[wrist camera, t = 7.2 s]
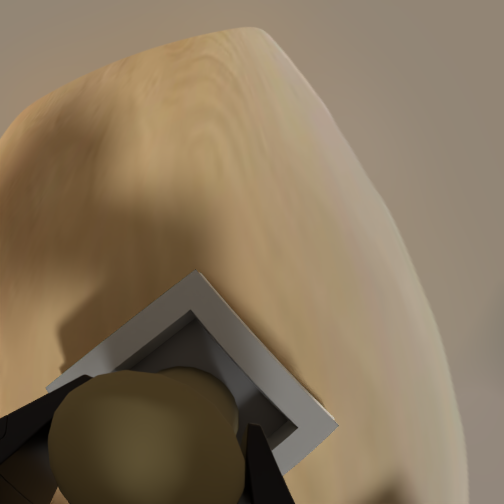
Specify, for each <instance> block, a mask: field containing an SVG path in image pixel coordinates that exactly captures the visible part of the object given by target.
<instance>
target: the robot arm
mask: <svg viewBox="0 0 504 504" xmlns="http://www.w3.org/2000/svg"><path fill="white" fill-rule="evenodd" d="M92 378H93V377H91V376H89V375H86V374H84V375H81V376H79V377H78V378H76V379H74V380H72V381H70V382H68V383H67V384H65V385H63V386H61V387H59V388H57V389H55V390H54V391H52V392H50V393H48V394H46V395H44V396H42V397H40V398H39V399H37V400H35V401H33V402H31V403H29V404H27V405H25V406H23V407H21V408H19V409H18V410H16V411H14V412H12V413H10V414H8V415H6V416H4V417H2V418H0V504H50V502H51V500H52V498H53V496H54V494H55V491H56V489H57V487H58V485H57V483H56V480H55V478H54V475H53V473H52V470H51V468H50V461H49V452H48V435H49V431H50V427H51V423H52V419H53V416H54V412H55V411H56V409H57V408H58V407H59V405H60V404H61V403H62V401H63V400H64V399H65V397H66V396H67V395H68V393H69V392H71V391H72V390H74V389H75V388H77V387H79V386H80V385H82V384H84V383H85V382H87V381H89V380H90V379H92ZM240 449H241V451H242V454H243V457H244V460H245V488H244V490H243V492H242V495H241V497H240V500H239V502H238V504H295V502H294V500H293V498H292V496H291V494H290V492H289V489H288V487H287V485H286V483H285V480H284V478H283V476H282V474H281V471H280V469H279V467H278V465H277V462H276V460H275V458H274V455H273V453H272V450H271V448H270V446H269V443H268V441H267V439H266V436H265V434H264V431H263V429H262V427H261V425H260V424H255V423H248V424H247V426H246V429H245V431H244V434H243V437H242V441H241V447H240Z"/></svg>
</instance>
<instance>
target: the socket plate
mask: <svg viewBox="0 0 504 504" xmlns="http://www.w3.org/2000/svg"><path fill="white" fill-rule="evenodd" d="M175 366H185V367H195V368H198V369H201V370H203V371H206V372H209V373H211V374H212V375H214V376H215V377H216V378H218V379H219V380H220V381H222V382H223V383H224V384H225V385H226V387H227V388H228V389H229V391H230V392H231V393H232V395H233V396H234V398H235V401H236V404H237V407H238V410H239V429H238V432H237V435H236V438H237V441H238V443H239V446H240V447H241V441H242V437H243V434H244V431H245V429H246V426H247V424H248V423H255V424H260V425H261V427H262V429H263V431H264V434H265V436H266V439H267V441H268V443H269V446H270V448H271V450H272V453H273V455H274V458H275V460H276V462H277V465H278V467H279V469H280V471H281V474H282V476H283V475H284V474H286V473H287V472H288V471H289V470H291V469H292V468H293V467H294V466H295V465H297V464H298V463H299V462H300V461H301V460H302V459H304V458H305V457H306V456H307V455H308V454H309V453H310V452H312V451H313V450H314V449H315V448H316V447H317V446H318V445H319V444H320V443H321V442H322V441H323V440H325V439H326V438H327V437H328V436H329V435H330V434H331V433H332V432H333V431H334V430H335V429H336V428H337V427H338V426H339V425H338V424H337V423H336V422H335V421H334V419H335V418H334V417H333V416H332V415H331V414H330V413H329V412H328V411H327V410H326V409H325V408H324V407H323V406H322V405H321V404H320V403H319V402H318V401H317V400H316V399H315V398H314V397H313V396H312V395H311V394H310V393H309V392H308V391H307V390H306V389H305V388H304V387H303V386H302V385H301V384H300V383H299V382H298V381H297V380H296V378H295V377H294V376H293V375H292V374H291V373H290V372H289V371H288V370H287V369H286V368H285V367H284V366H283V365H282V364H281V363H280V362H279V360H278V359H277V358H276V357H275V356H274V355H273V354H272V353H271V352H270V351H269V350H268V349H267V347H266V346H265V345H264V344H263V343H262V342H261V341H260V340H259V339H258V338H257V336H256V335H255V334H254V333H253V332H252V331H251V330H250V329H249V328H248V326H247V325H246V324H245V323H244V322H243V321H242V320H241V319H240V317H239V316H238V315H237V314H236V313H235V312H234V311H233V309H232V308H231V307H230V306H229V305H228V304H227V303H226V301H225V300H224V299H223V298H222V297H221V296H220V294H219V293H218V292H217V291H216V290H215V289H214V287H213V286H212V285H211V284H210V283H209V282H208V280H207V279H206V278H205V277H204V276H203V274H202V273H201V272H200V273H199V272H198V271H197V270H196V269H195V270H194V271H193V272H191V273H190V274H189V275H187V276H186V277H185V278H183V279H182V280H181V281H179V282H178V283H177V284H176V285H174V286H173V287H172V288H170V289H169V290H168V291H166V292H165V293H164V294H163V295H161V296H160V297H159V298H157V299H156V300H155V301H154V302H152V303H151V304H150V305H148V306H147V307H146V308H144V309H143V310H142V311H141V312H139V313H138V314H137V315H136V316H134V317H133V318H132V319H130V320H129V321H128V322H127V323H125V324H124V325H123V326H121V327H120V328H119V329H118V330H116V331H115V332H114V333H113V334H111V335H110V336H109V337H108V338H106V339H105V340H104V341H103V342H101V343H100V344H99V345H98V346H96V347H95V348H94V349H93V350H91V351H90V352H89V353H88V354H86V355H85V356H84V357H83V358H81V359H80V360H79V361H78V362H76V363H75V364H74V365H73V366H71V367H70V368H69V369H68V370H66V371H65V372H64V373H63V374H62V375H60V376H59V377H58V378H57V379H55V380H54V381H53V382H52V383H51V384H49V385H48V386H47V387H46V390H47V391H48V393H50V392H52V391H54V390H55V389H57V388H59V387H61V386H63V385H65V384H67V383H68V382H70V381H72V380H74V379H76V378H78V377H79V376H81V375H84V374H86V375H89V376H91V377H93V378H94V377H95V376H97V375H101V374H106V373H112V372H117V371H122V370H130V371H138V372H146V373H157V372H159V371H160V370H162V369H167V368H171V367H175Z"/></svg>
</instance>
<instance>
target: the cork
mask: <svg viewBox="0 0 504 504" xmlns="http://www.w3.org/2000/svg"><path fill="white" fill-rule="evenodd" d="M238 429H239V410H238V407H237V404H236V401H235V398H234V396H233V395H232V393H231V392H230V391H229V389H228V388H227V387H226V385H225V384H224V383H223V382H222V381H220V380H219V379H218V378H216V377H215V376H214V375H212V374H211V373H209V372H206V371H203V370H201V369H198V368H195V367H185V366H175V367H171V368H167V369H162V370H160V371H159V372H157V373H146V372H138V371H130V370H122V371H117V372H112V373H106V374H101V375H97V376H95V377H94V378H92V379H90V380H89V381H87V382H85V383H84V384H82V385H80V386H79V387H77V388H75V389H74V390H72V391H71V392H69V393H68V395H67V396H66V397H65V399H64V400H63V401H62V403H61V404H60V405H59V407H58V408H57V409H56V411H55V412H54V416H53V419H52V423H51V427H50V431H49V435H48V452H49V461H50V468H51V470H52V473H53V475H54V478H55V480H56V483H57V485H58V487H59V489H60V491H61V493H62V494H63V495H64V497H65V498H66V499H67V501H68V502H69V503H70V504H238V502H239V500H240V497H241V495H242V492H243V490H244V488H245V460H244V457H243V454H242V451H241V449H240V446H239V443H238V441H237V438H236V435H237V432H238Z"/></svg>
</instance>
